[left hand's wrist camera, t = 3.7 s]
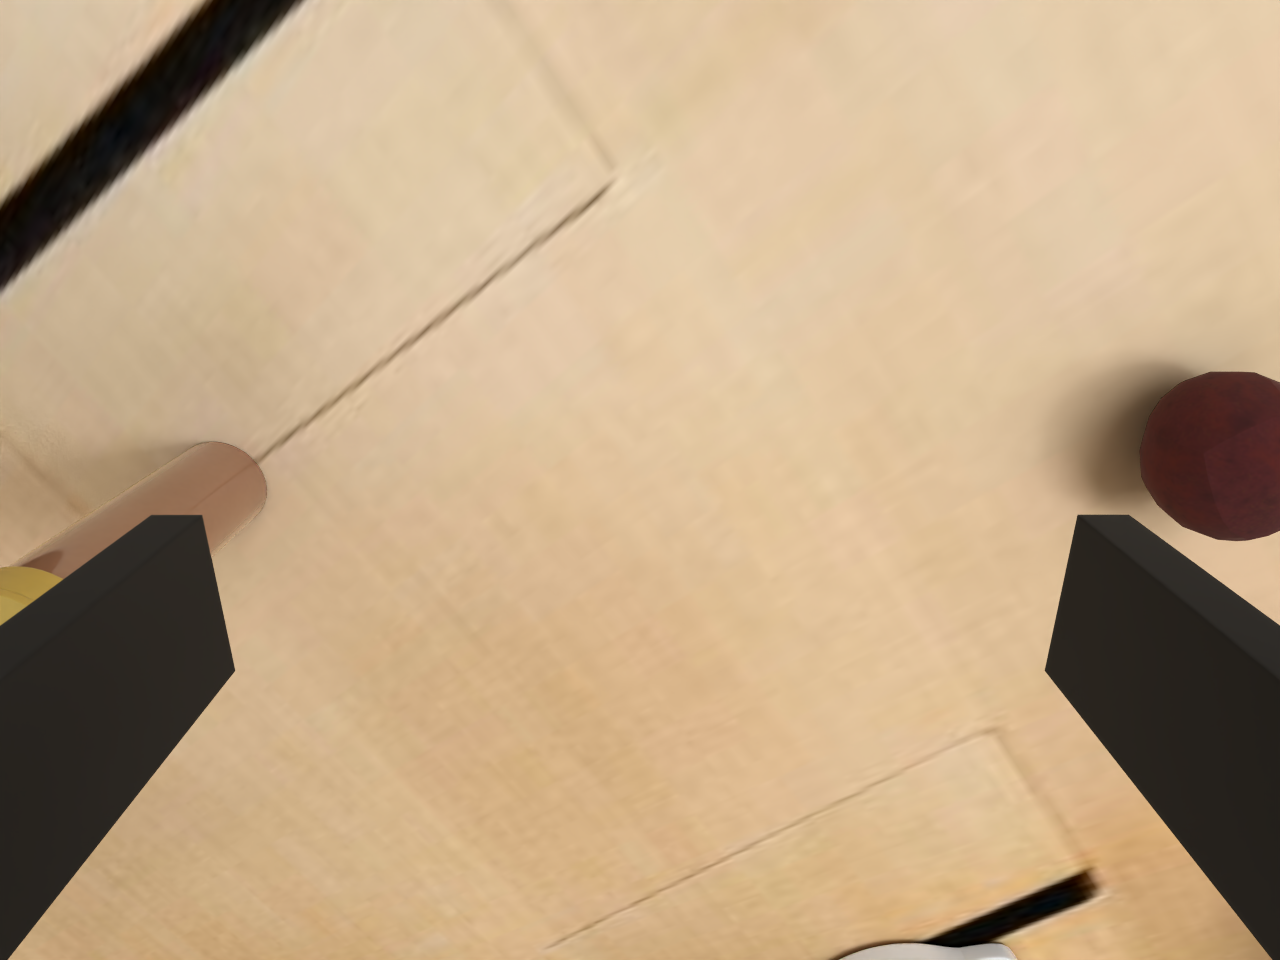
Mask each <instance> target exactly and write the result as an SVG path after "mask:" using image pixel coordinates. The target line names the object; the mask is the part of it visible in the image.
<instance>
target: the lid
mask: <svg viewBox="0 0 1280 960" xmlns="http://www.w3.org/2000/svg"><path fill="white" fill-rule="evenodd" d="M62 580H63V579H62V578H60V577H58V576H56V575H54V574H52V573H49V572H46V571H43V570H39V569H35V568H29V567H16V566H12V567H3V568H0V625H2V624H3V623H4V622H6V621H7V620H9V619H10V618H11V617H13V616H14V615H15V614H17V613H18V612H19V611H21V610H22V609H24V608H25V607H26V606H28V605H29V604H30V603H32V602H33V601H34V600H36V599H37V598H39V597H40V596H41V595H43V594H44V593H45V592H47V591H48V590H49V589H51V588H52V587H54V586H55V585H56V584H58V583H59V582H60V581H62Z"/></svg>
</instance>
